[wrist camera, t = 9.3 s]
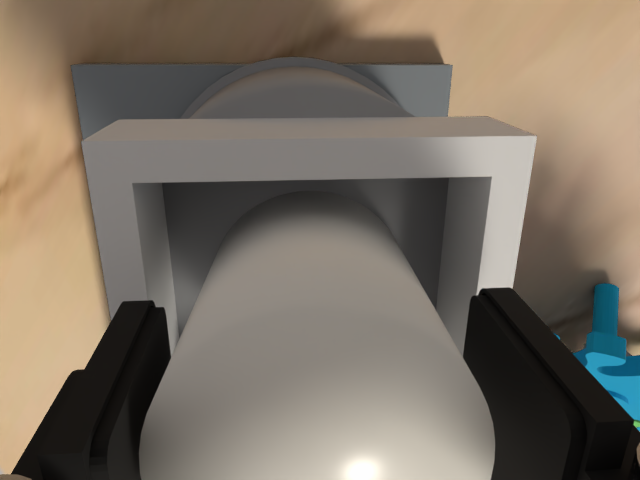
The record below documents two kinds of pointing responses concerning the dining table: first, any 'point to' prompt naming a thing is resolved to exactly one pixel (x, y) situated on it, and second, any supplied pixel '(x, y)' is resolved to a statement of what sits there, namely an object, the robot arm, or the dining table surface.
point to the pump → (315, 361)
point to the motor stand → (295, 170)
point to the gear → (611, 353)
